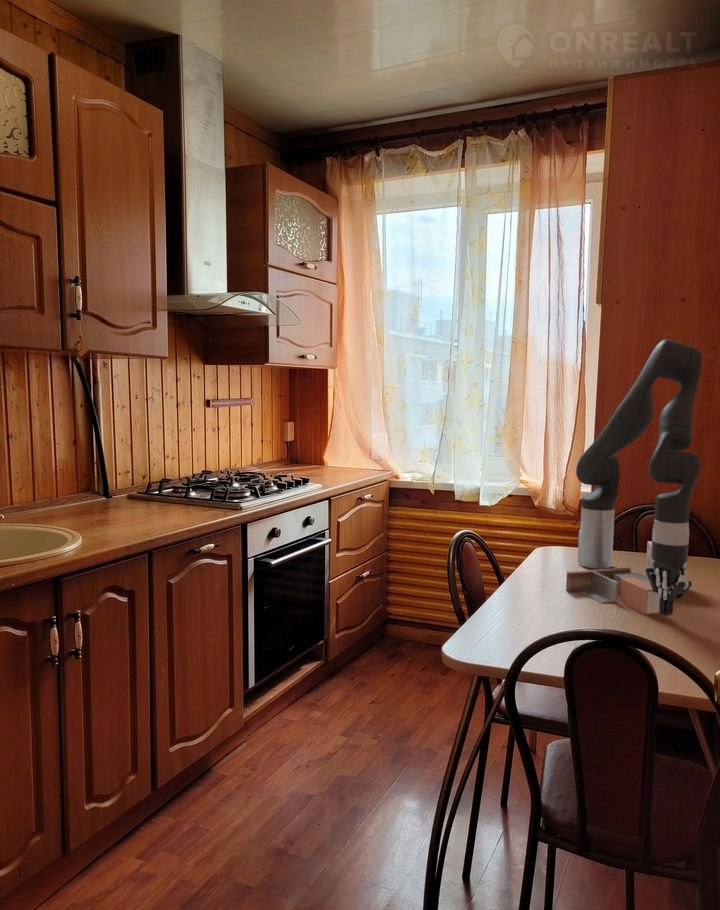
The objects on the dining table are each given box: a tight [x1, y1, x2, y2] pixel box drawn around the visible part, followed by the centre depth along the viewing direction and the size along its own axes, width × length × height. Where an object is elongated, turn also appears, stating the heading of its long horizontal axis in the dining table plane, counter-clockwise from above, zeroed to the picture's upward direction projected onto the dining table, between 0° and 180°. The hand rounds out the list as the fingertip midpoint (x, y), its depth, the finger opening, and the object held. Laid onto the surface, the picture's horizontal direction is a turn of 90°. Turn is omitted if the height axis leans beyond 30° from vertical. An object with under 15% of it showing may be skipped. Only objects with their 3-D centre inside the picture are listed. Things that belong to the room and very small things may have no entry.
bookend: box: [579, 572, 619, 604], centre depth 176 cm, size 10×4×5 cm, turn 15°
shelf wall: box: [565, 567, 632, 593], centre depth 183 cm, size 2×18×5 cm, turn 105°
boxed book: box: [618, 577, 660, 615], centre depth 168 cm, size 10×4×6 cm, turn 15°
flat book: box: [613, 571, 650, 593], centre depth 179 cm, size 10×7×4 cm
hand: (665, 614), depth 159 cm, fingers closed
